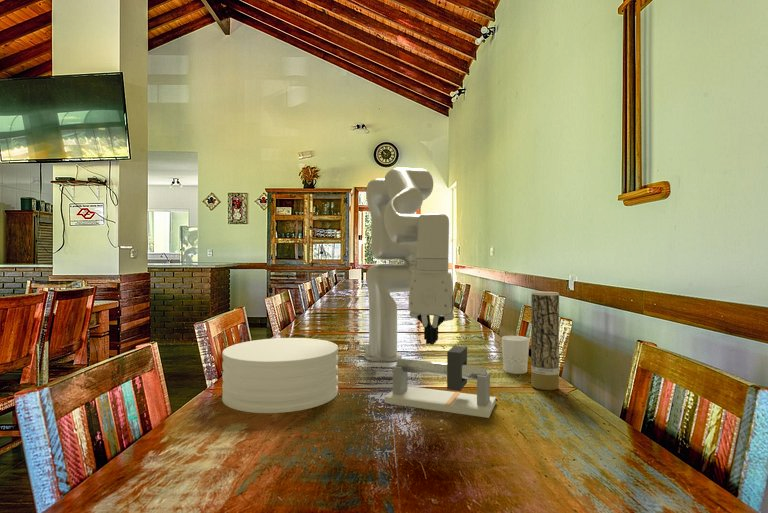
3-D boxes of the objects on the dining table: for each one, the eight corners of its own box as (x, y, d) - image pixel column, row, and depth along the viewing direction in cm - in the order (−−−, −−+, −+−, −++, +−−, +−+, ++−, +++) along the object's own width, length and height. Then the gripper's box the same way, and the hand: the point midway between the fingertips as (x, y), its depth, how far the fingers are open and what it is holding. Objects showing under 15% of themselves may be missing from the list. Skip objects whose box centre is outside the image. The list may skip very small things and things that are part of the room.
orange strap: (444, 404, 98) (444, 367, 98) (455, 392, 107) (455, 358, 107) (450, 405, 97) (450, 368, 97) (460, 392, 106) (460, 358, 106)
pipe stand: (384, 403, 103) (384, 368, 103) (399, 391, 112) (399, 359, 112) (488, 417, 94) (488, 380, 94) (495, 403, 103) (495, 369, 103)
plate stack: (196, 401, 105) (196, 352, 105) (276, 373, 129) (277, 334, 129) (288, 422, 92) (288, 367, 92) (358, 387, 116) (358, 343, 116)
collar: (447, 389, 99) (447, 351, 99) (454, 381, 105) (454, 345, 105) (460, 391, 98) (460, 352, 98) (466, 382, 104) (467, 346, 104)
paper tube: (561, 392, 112) (561, 293, 112) (533, 390, 113) (533, 293, 113) (556, 384, 119) (556, 291, 119) (529, 383, 120) (530, 291, 120)
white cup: (532, 374, 128) (532, 340, 128) (505, 374, 128) (505, 340, 128) (524, 368, 136) (524, 335, 136) (498, 367, 136) (498, 335, 136)
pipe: (396, 372, 106) (396, 359, 106) (400, 369, 109) (400, 357, 109) (484, 382, 98) (484, 368, 98) (486, 378, 100) (486, 365, 100)
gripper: (396, 265, 103) (395, 343, 104) (460, 268, 98) (458, 350, 98) (407, 264, 110) (406, 337, 111) (467, 266, 105) (465, 343, 105)
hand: (431, 343), depth 105 cm, fingers closed
